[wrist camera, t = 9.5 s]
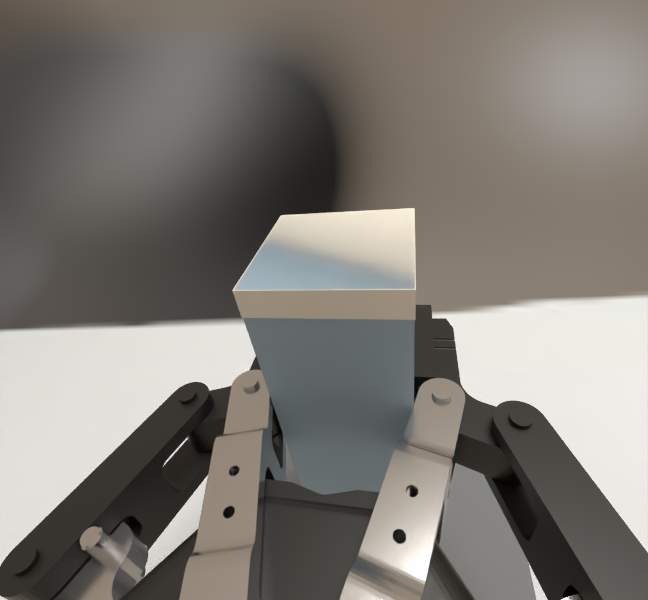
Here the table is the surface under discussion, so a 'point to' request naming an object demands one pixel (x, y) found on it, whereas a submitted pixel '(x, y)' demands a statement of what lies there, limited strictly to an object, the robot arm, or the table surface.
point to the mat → (477, 539)
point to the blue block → (336, 339)
